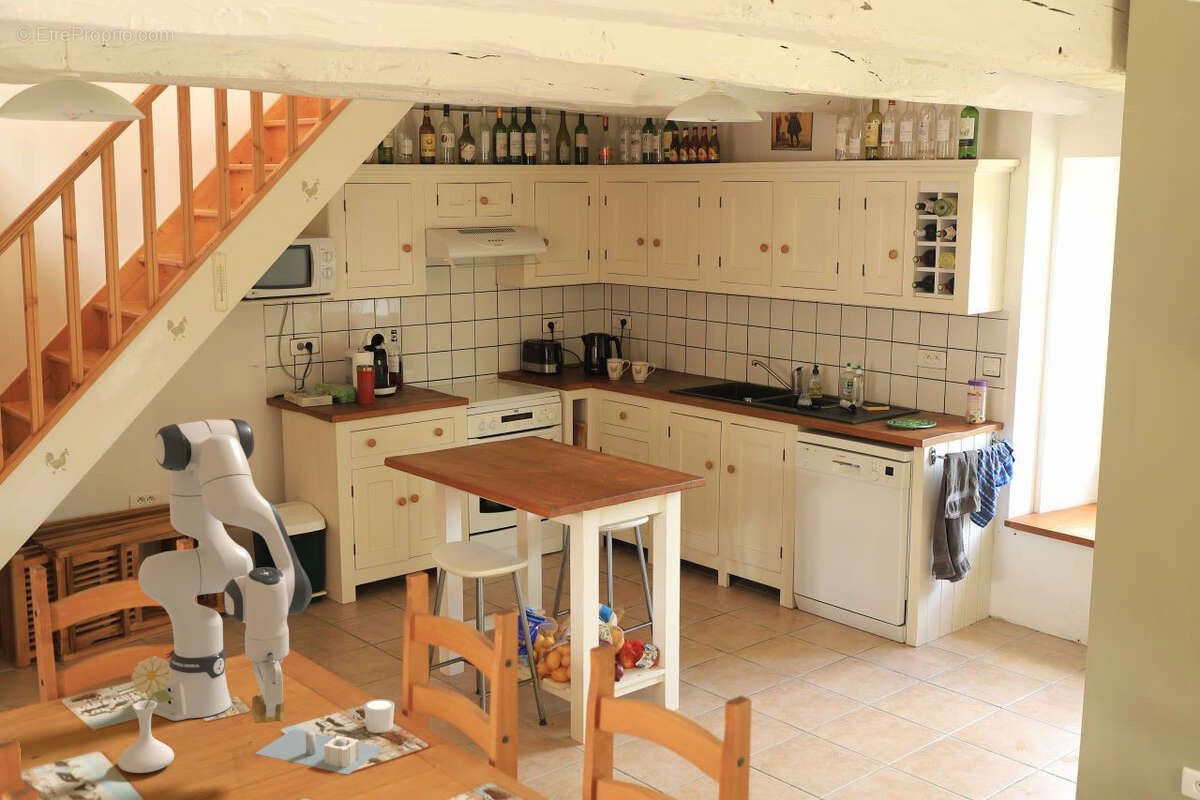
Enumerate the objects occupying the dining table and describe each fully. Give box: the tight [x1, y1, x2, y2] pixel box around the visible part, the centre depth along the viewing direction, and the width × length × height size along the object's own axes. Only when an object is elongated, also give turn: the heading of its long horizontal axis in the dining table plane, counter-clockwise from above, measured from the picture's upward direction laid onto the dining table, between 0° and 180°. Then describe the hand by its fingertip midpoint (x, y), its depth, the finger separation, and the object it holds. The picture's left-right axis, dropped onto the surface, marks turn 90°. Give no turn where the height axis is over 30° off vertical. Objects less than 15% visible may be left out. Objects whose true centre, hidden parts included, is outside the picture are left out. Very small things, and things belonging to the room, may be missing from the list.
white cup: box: [363, 698, 396, 734], centre depth 273 cm, size 7×7×7 cm
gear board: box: [254, 728, 385, 775], centre depth 261 cm, size 24×14×6 cm, turn 68°
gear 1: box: [251, 694, 285, 724], centre depth 251 cm, size 7×7×4 cm
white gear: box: [324, 735, 360, 768], centre depth 256 cm, size 7×7×4 cm
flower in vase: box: [117, 655, 175, 774], centre depth 253 cm, size 13×11×25 cm
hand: (268, 708), depth 251 cm, fingers closed on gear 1, 6 cm apart
